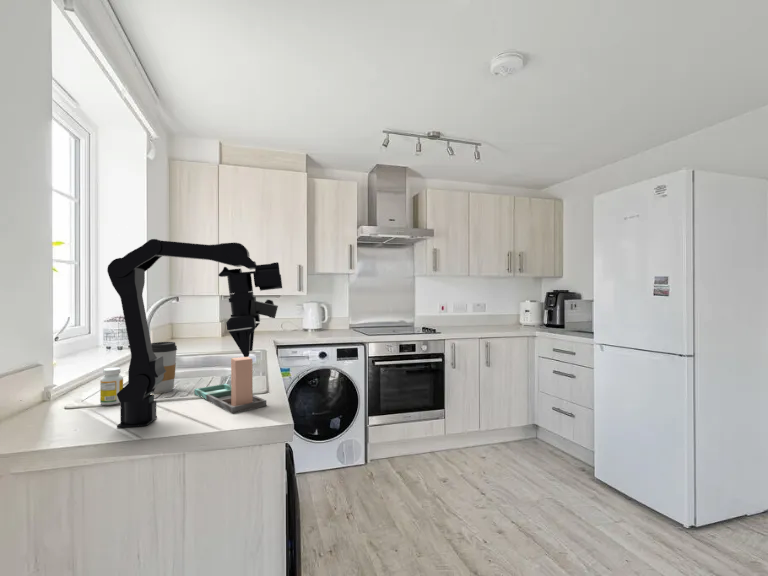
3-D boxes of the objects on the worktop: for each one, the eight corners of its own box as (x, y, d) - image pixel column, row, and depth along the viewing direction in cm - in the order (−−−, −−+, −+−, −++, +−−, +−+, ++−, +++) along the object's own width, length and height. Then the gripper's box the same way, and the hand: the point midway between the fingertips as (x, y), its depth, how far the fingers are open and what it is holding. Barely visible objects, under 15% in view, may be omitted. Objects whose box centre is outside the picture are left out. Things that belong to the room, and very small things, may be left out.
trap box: (266, 405, 110) (266, 400, 110) (232, 413, 103) (232, 407, 103) (225, 388, 130) (225, 383, 130) (194, 393, 123) (194, 388, 123)
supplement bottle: (107, 406, 110) (107, 371, 110) (95, 404, 112) (95, 369, 112) (127, 401, 115) (127, 367, 115) (115, 399, 117) (115, 366, 117)
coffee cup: (140, 393, 124) (140, 344, 124) (161, 386, 132) (161, 341, 132) (163, 394, 122) (163, 345, 122) (183, 388, 130) (183, 342, 130)
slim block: (235, 409, 107) (235, 360, 107) (231, 405, 111) (231, 358, 111) (252, 406, 110) (252, 358, 110) (247, 402, 113) (247, 356, 113)
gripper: (272, 289, 95) (280, 354, 95) (275, 289, 113) (281, 344, 113) (222, 294, 92) (230, 362, 92) (233, 293, 110) (240, 350, 111)
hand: (248, 353), depth 102 cm, fingers open, 9 cm apart
